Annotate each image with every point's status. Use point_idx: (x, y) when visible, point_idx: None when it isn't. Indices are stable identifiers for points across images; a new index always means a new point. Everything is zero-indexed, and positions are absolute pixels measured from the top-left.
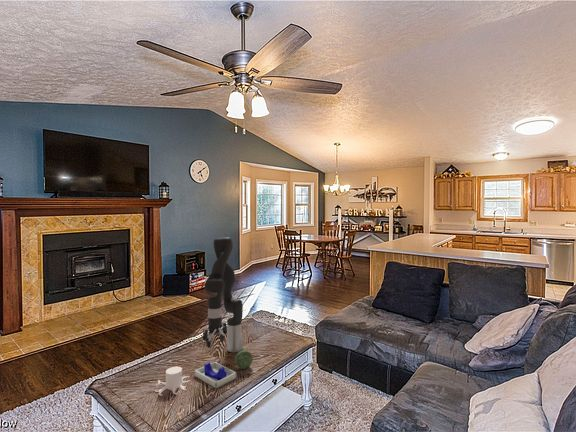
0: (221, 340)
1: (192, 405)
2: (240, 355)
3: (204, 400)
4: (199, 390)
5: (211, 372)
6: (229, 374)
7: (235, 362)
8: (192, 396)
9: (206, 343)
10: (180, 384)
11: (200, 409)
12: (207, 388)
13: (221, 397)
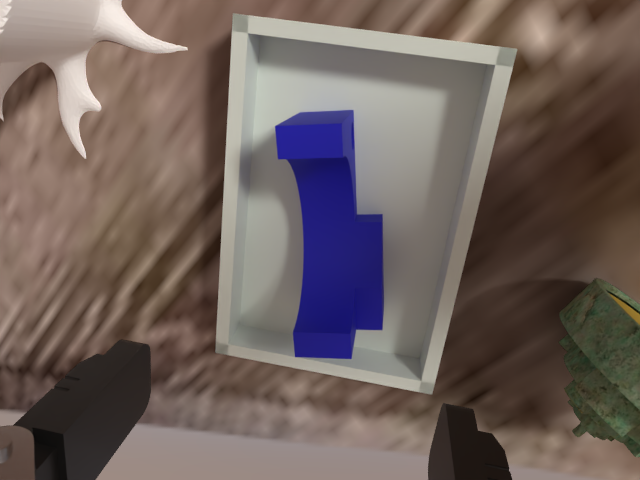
0: (437, 470)
1: (25, 326)
2: (623, 406)
3: (101, 352)
4: (142, 243)
5: (320, 191)
6: (432, 300)
7: (584, 294)
8: (70, 256)
9: (46, 398)
10: (61, 62)
11: (41, 388)
12: (195, 274)
13: (189, 416)
